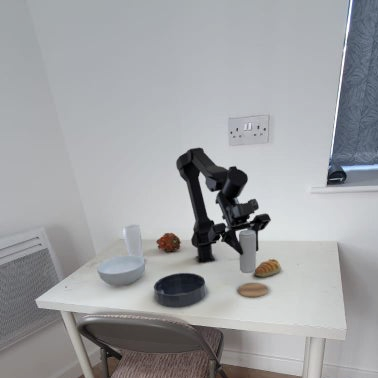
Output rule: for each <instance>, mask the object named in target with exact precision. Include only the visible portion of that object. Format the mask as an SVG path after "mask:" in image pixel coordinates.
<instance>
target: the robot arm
mask: <svg viewBox="0 0 378 378" xmlns="http://www.w3.org/2000/svg"><path fill="white" fill-rule="evenodd" d="M175 165H176V166H175V167H176V169H177V171H178V173H179V177H181V179H182V180H183V181H184V182H185V183H186V187H187V192H188V195H189V199H190V203H191V207H192V211H193V216H194V220H195V221H194V224H193V227H192V230H193V234H192V236H191V239H190V241H191V245H192V246H193V247H194V248H195V249H196V250H197V255H196V256H195V258H196V260H197V262H198V263H206V262H213V261H215V260H216V259H215V256H214V255H213V246H212V245H214V244H217V242H218V241H220V242H221V243H225V244H226V245H228V247H229V246H230V248H232V249H233V250H234V251H235V252H236V253H238V254H240V255H243V250H242V248H241V245H240V243H239V238H238V236H237V232H238V231H239V232H240V231H243V230H253V231H255V234H256V252H258V251H259V249H260V248H259V247H260V246H259V232H260V231H264V229H266V227H268V225H269V224H270V222H271V221H272V219H271V217H270V215H269V213H260V214H256V215H255V216H254V217H253V219H252V220H250V218H251V216H250V215H254V214H255V213H256V211H258V210H259V208H260V206H259V202H258V200H257V199H256V198H251V199H249V200H247V202H244V203H242V202H240V201H239V199H238V198H239V197H240V196H241V194H242V192H243V191H244V189H245V187H246V185H247V184H248V181H249V176H248V174H247V173H246V172H244V171H243V170H242V169H239V168H237V166H236V165H233V166H229V167H228V169H227V168H226V167H224V166H221V165H217V164H216V163H215V162H214V161H213V160H212V159H211V158H210V157H209V156H208V155H207V154H206V152H205V151H204V149H203V147H193V148H189V149H188V150H187V151H186V152H184V153H183V154H181V155H179V156H178V158H177V159H176V161H175ZM200 174H202V175H203V177H204V178H205V181H204V183H205V186H206V188H207V189H208V191H209V192H211V193H214V192H217V194H216V196H215V199H214V200H215V205H219V208H220V211H221V214H222V216H221V218H222V220H225V222H226V223H224V222H220V223H219V222H218V223H216V224H215V221H214V220H213V219H211V218H209V216H208V212H207V208H206V204H205V200H204V195H203V191H202V187H201V182H200ZM248 220H249V221H248Z"/></svg>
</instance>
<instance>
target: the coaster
mask: <svg viewBox="0 0 378 378" xmlns="http://www.w3.org/2000/svg"><path fill="white" fill-rule="evenodd" d="M268 288H269V287H267V285H265V284H263V283H258V282H248V283H245V284H242V285H241V286H239V287H238V293H239V295H241V296H243V297H247V298H259V297H262V296H265V295H266V294H268V292H269V291H268V290H269V289H268Z"/></svg>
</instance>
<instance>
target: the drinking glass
mask: <svg viewBox="0 0 378 378" xmlns="http://www.w3.org/2000/svg"><path fill="white" fill-rule="evenodd" d="M121 229H122V234H123V239H124V243H125V245H126V249H127V252H128V255H137V256H140V257H142V258H143V259H144V260H145V258H144V251H143V240H142V232H141V227H140V225H139V224H138V223H131V224H127V225H124V226H123V227H122V228H121Z"/></svg>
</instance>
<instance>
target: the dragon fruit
mask: <svg viewBox="0 0 378 378" xmlns="http://www.w3.org/2000/svg"><path fill="white" fill-rule="evenodd" d="M181 243H182V241H181V240H180V237H178V235H176V234H175V233H173V232H165V233H164V234H163V235H162V236H161V237H160V238H158V239H156V244H157V248H158V249H159V250H164V252H165V253H168V252H169V251H170V252H171V253H173V252H175V251H176V250H179V249H180V248H181Z"/></svg>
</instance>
